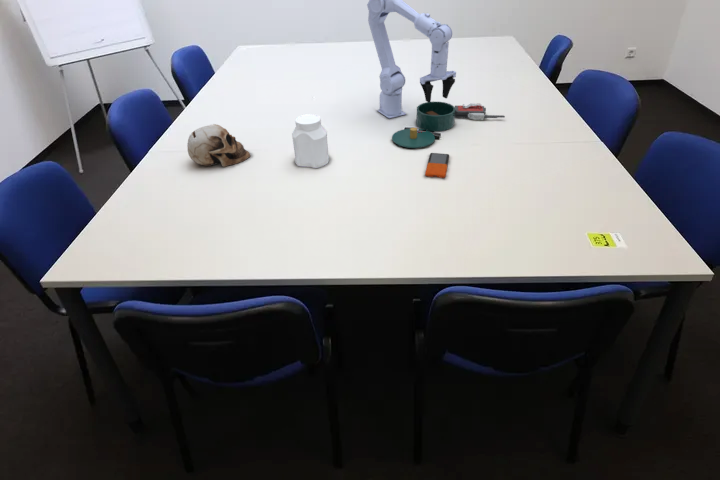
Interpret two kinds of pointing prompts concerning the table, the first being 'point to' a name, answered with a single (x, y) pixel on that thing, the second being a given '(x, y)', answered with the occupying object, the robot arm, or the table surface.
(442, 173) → the phone
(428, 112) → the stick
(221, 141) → the coin bank
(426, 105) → the tin
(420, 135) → the tin lid
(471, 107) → the walkie-talkie
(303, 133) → the jar
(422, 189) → the table surface
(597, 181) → the table surface
